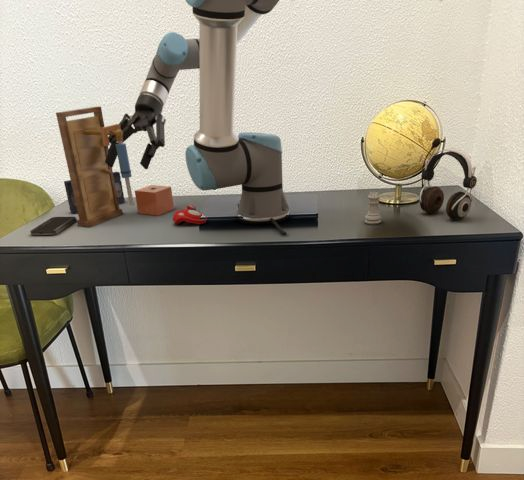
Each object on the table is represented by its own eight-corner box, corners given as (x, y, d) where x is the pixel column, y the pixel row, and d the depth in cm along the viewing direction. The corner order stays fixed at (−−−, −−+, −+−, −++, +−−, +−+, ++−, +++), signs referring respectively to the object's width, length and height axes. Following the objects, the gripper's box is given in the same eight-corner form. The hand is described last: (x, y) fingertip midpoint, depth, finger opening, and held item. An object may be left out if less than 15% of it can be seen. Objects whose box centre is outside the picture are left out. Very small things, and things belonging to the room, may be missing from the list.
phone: (77, 216, 163) (54, 231, 150) (77, 220, 164) (55, 235, 151) (52, 216, 164) (28, 231, 151) (53, 220, 165) (29, 235, 152)
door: (112, 212, 170) (92, 106, 155) (153, 217, 162) (136, 106, 147) (77, 225, 159) (52, 112, 144) (119, 231, 151) (98, 112, 136)
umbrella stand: (154, 206, 174) (151, 184, 170) (174, 209, 170) (171, 186, 167) (138, 213, 168) (134, 190, 164) (158, 215, 164) (154, 192, 161)
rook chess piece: (382, 220, 148) (383, 191, 144) (379, 225, 144) (381, 195, 140) (365, 219, 149) (367, 190, 145) (363, 224, 146) (364, 194, 142)
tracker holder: (213, 218, 154) (182, 216, 148) (210, 232, 156) (179, 231, 151) (195, 200, 162) (165, 198, 156) (192, 214, 164) (162, 212, 158)
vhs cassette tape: (73, 214, 171) (66, 182, 166) (69, 212, 173) (62, 180, 168) (125, 202, 180) (120, 172, 175) (122, 201, 182) (116, 171, 178)
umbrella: (131, 202, 160) (116, 123, 149) (139, 203, 159) (124, 123, 148) (114, 209, 155) (97, 127, 144) (122, 210, 154) (105, 128, 142)
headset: (408, 212, 153) (415, 138, 143) (427, 207, 157) (434, 134, 147) (458, 225, 141) (469, 145, 131) (477, 219, 144) (489, 140, 135)
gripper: (191, 110, 155) (167, 175, 151) (126, 110, 165) (102, 171, 161) (178, 91, 148) (152, 159, 144) (111, 93, 159) (85, 156, 155)
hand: (125, 165), depth 153 cm, fingers open, 12 cm apart
